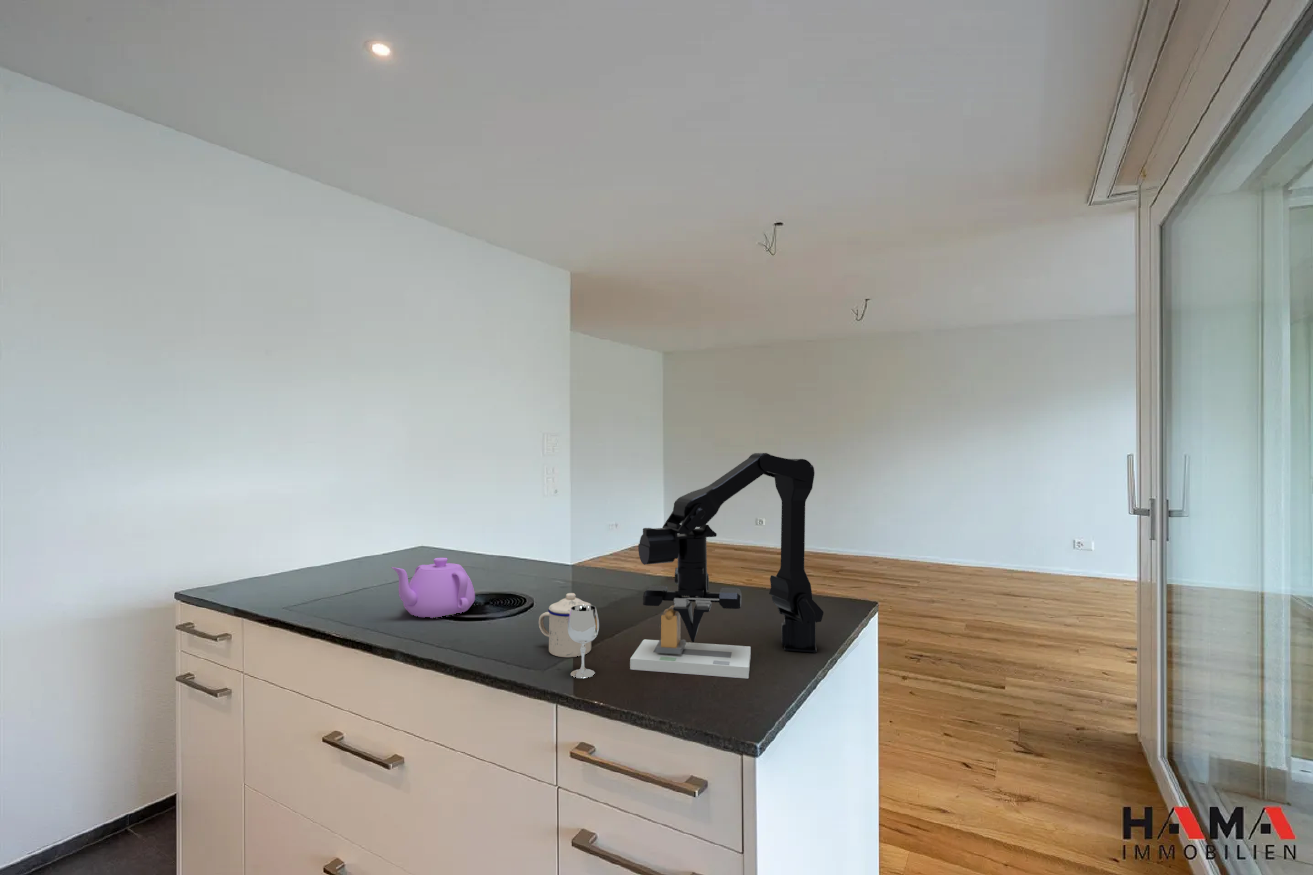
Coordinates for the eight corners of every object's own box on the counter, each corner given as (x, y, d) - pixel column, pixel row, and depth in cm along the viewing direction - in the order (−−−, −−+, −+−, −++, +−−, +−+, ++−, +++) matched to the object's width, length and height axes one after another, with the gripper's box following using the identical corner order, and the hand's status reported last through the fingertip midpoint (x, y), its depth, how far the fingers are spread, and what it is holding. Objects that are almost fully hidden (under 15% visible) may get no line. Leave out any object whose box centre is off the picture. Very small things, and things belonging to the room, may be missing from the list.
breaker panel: (750, 656, 118) (750, 645, 118) (748, 678, 106) (748, 666, 106) (643, 648, 122) (643, 638, 122) (630, 669, 110) (630, 658, 110)
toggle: (685, 644, 117) (685, 605, 117) (681, 654, 111) (681, 613, 112) (661, 642, 118) (661, 603, 118) (655, 652, 112) (655, 611, 113)
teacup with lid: (599, 647, 123) (600, 591, 123) (578, 660, 115) (579, 600, 115) (550, 640, 127) (551, 586, 128) (526, 653, 119) (527, 595, 119)
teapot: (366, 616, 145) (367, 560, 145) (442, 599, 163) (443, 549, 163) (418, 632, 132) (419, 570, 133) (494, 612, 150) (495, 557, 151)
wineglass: (568, 668, 110) (568, 604, 111) (598, 667, 111) (599, 603, 111) (565, 680, 105) (566, 612, 105) (598, 679, 105) (598, 611, 105)
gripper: (742, 555, 121) (743, 631, 120) (653, 553, 124) (654, 627, 124) (739, 564, 110) (740, 648, 109) (642, 562, 113) (642, 644, 113)
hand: (693, 641), depth 114 cm, fingers closed
